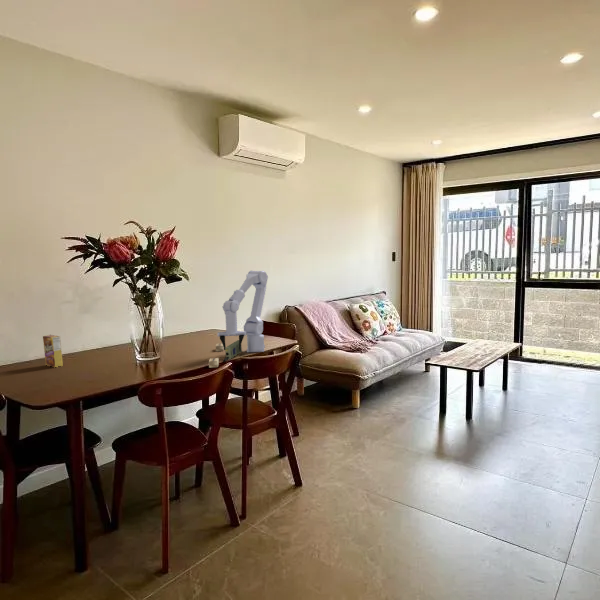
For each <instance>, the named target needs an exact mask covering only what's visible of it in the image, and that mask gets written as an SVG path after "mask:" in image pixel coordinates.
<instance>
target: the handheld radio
mask: <svg viewBox="0 0 600 600" xmlns="http://www.w3.org/2000/svg"><path fill="white" fill-rule="evenodd" d="M224 351H225V357H224V358H223V359H222V362H226V361H229V360H228V359H231V358H232V359H234V358H235V357H236V356H237V354H238V355H239V354H241V353H242V352H243V348H242V346H241V349H240V350H239V339H237V340H235V341H233V342H232V343H231V344H229V345H227V346H226V348H225V350H224ZM240 352H241V353H240ZM234 356H235V357H234ZM232 359H231V360H232Z"/></svg>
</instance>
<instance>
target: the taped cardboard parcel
mask: <svg viewBox="0 0 600 600" xmlns="http://www.w3.org/2000/svg"><path fill="white" fill-rule="evenodd" d="M224 351H225V350H224V347H223V344H222V342H221V343H216V344H215V352H224ZM219 362H220V361H219V357H216V358H215V357H214V358H212V357H211V358H209V361H208V368H218V367H219V365H220V364H219Z"/></svg>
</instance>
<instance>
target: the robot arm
mask: <svg viewBox="0 0 600 600" xmlns="http://www.w3.org/2000/svg"><path fill="white" fill-rule="evenodd" d="M268 279H269V276H268V274H267V272H266V271H265V270H249V271H248V272H247V274H246V277H245V280H244V281H243V283H242V284H241V286H240V288H239V289H236V290H234V291H233V293H232V295H230V297H229V298H228V300H225V302H224V303H223V304H222V305H223V306H222V310H223V311H224V316H225V331H220V332H218V331H217V338H218V337H219V340H220V342H221V344H223V347H224V350H223V351H225V348H226V347H227V346H226V337H232V336H233V337H235V336H236V337H237V336H238V340H239V350H240V349H241V347H242V343H243V340H244V337H245V336H246V343H247V344H246V345H247V348H246V353H257V352H258V353H261V352H263V353H264V352H265V348H266V347H265V346H266V345H265V335H264V334H262V333H263V331H264V321H263V320H262V319H261V317H262V316H261V315H262V311H263V306H264V302H265V301H264V300H265V295H266V292H267V283H268ZM252 286H253V287H255V292H254V297H253V302H252V306H251V312H250V316H249V317H247V318H246V320H245V323H244V325H243V331H240V330H238V318H237V317H238V316H237V315H238V314H237V313H238V311H239V309H240V305H241V302H242V301H243V299H245V296H246V295H245V294H246V292H247V291H248V290H249V289H250V287H252Z"/></svg>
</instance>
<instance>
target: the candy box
mask: <svg viewBox="0 0 600 600" xmlns="http://www.w3.org/2000/svg"><path fill="white" fill-rule="evenodd" d="M42 342H43V343H42V344H43V349H44V360H45V366H46V365H47V366H46V367H50V366H52V367H51V368H55V367H57V368H59V367H58V366H61V367H63V366H64V365H63V364H64V363H63V353H62V352H63V351H62V343H61V335H53V334H46V335H42Z"/></svg>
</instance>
